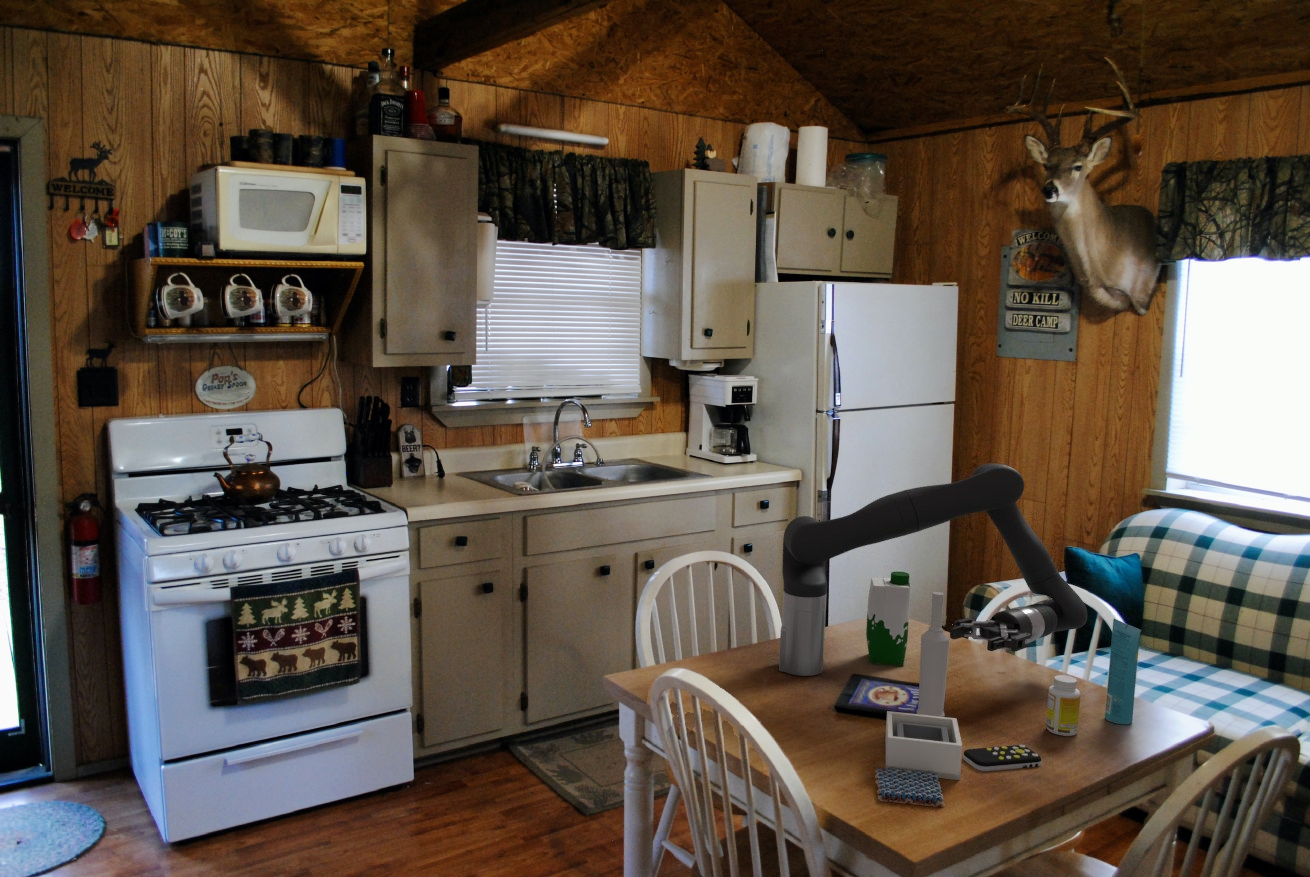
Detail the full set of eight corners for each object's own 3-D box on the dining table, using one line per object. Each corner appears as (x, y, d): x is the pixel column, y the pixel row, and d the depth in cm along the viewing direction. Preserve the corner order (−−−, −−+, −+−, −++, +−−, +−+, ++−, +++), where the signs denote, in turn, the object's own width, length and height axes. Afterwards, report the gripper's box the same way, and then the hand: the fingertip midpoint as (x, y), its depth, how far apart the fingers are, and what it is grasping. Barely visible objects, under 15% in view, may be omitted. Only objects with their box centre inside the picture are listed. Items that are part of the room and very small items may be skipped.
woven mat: (937, 781, 168) (938, 770, 168) (945, 812, 158) (946, 799, 158) (873, 775, 170) (874, 764, 170) (877, 805, 159) (878, 793, 159)
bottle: (944, 718, 194) (953, 591, 192) (943, 728, 190) (951, 598, 187) (917, 714, 196) (925, 588, 193) (915, 723, 191) (922, 595, 188)
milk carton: (908, 667, 223) (913, 579, 220) (866, 664, 224) (871, 576, 222) (903, 655, 231) (909, 569, 229) (863, 652, 232) (868, 567, 230)
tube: (1142, 725, 193) (1151, 628, 191) (1123, 728, 192) (1131, 630, 190) (1113, 711, 200) (1121, 617, 198) (1093, 714, 199) (1101, 619, 196)
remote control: (959, 758, 177) (960, 747, 177) (1023, 753, 180) (1024, 742, 180) (979, 774, 171) (979, 762, 171) (1044, 768, 174) (1045, 757, 174)
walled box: (885, 771, 170) (887, 737, 170) (885, 742, 182) (887, 710, 181) (959, 780, 168) (962, 745, 167) (954, 750, 180) (956, 718, 179)
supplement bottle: (1083, 732, 189) (1087, 679, 188) (1067, 739, 186) (1072, 686, 185) (1055, 722, 194) (1059, 671, 193) (1039, 729, 190) (1043, 677, 189)
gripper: (988, 600, 213) (940, 612, 203) (1050, 617, 202) (1003, 630, 192) (986, 635, 214) (938, 648, 204) (1047, 653, 203) (1000, 668, 193)
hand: (970, 639), depth 198 cm, fingers open, 8 cm apart
